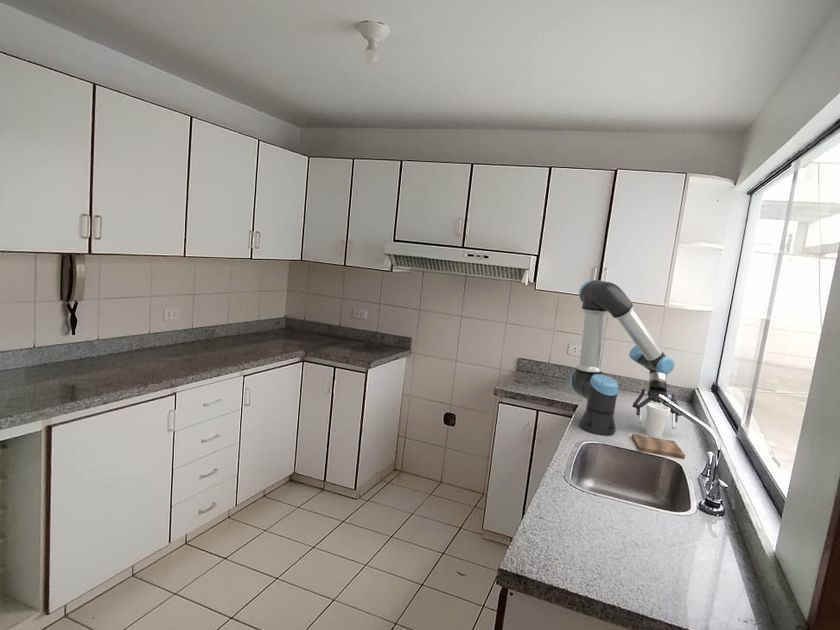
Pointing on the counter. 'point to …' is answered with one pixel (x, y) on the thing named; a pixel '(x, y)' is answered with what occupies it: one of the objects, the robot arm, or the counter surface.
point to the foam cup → (656, 419)
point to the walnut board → (657, 446)
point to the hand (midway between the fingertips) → (656, 424)
